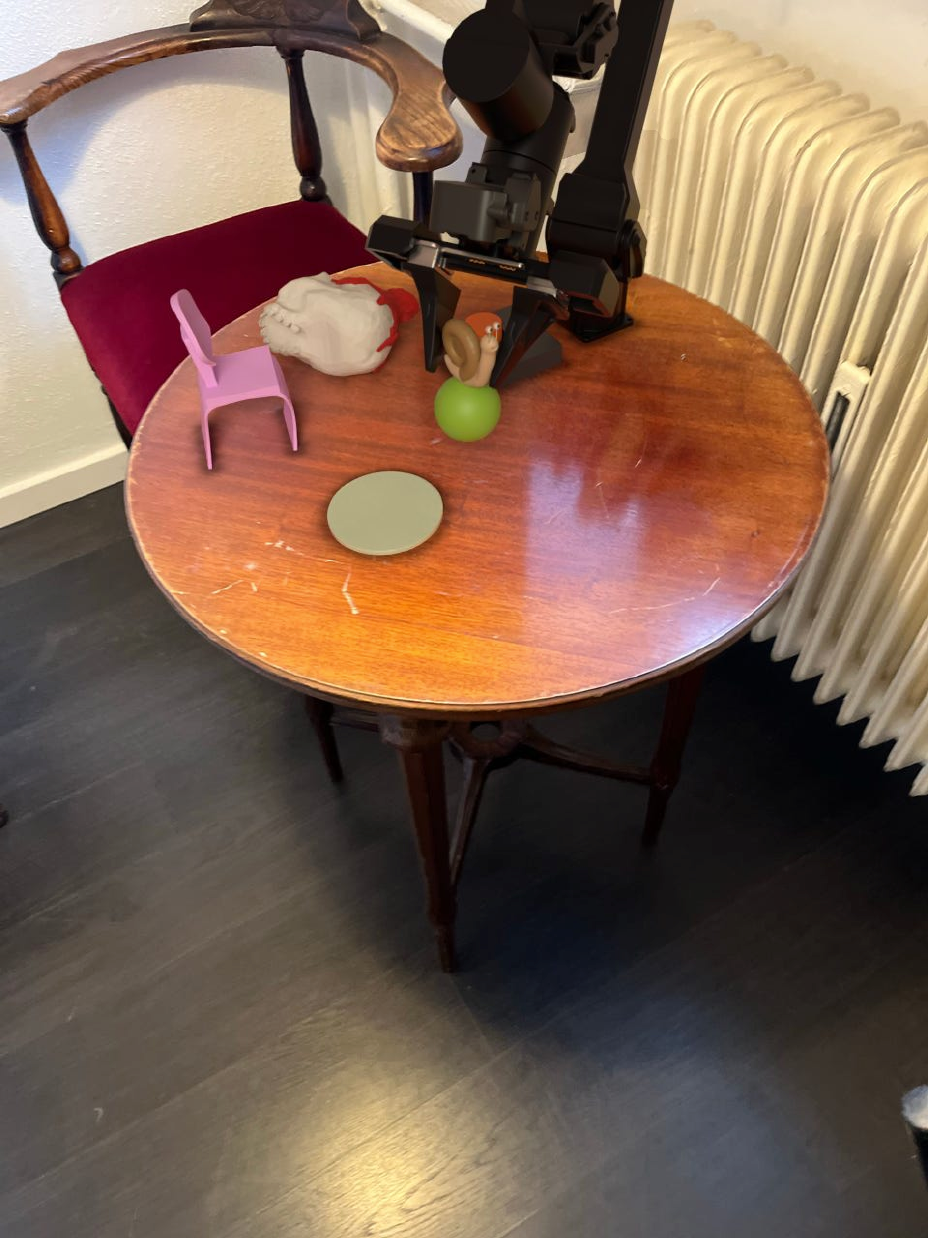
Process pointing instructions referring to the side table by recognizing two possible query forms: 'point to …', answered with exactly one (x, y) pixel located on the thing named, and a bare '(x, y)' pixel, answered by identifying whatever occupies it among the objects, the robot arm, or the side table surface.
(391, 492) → the coaster
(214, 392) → the toy chair
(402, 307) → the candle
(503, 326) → the button block
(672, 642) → the side table surface
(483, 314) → the button
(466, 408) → the snail figurine
